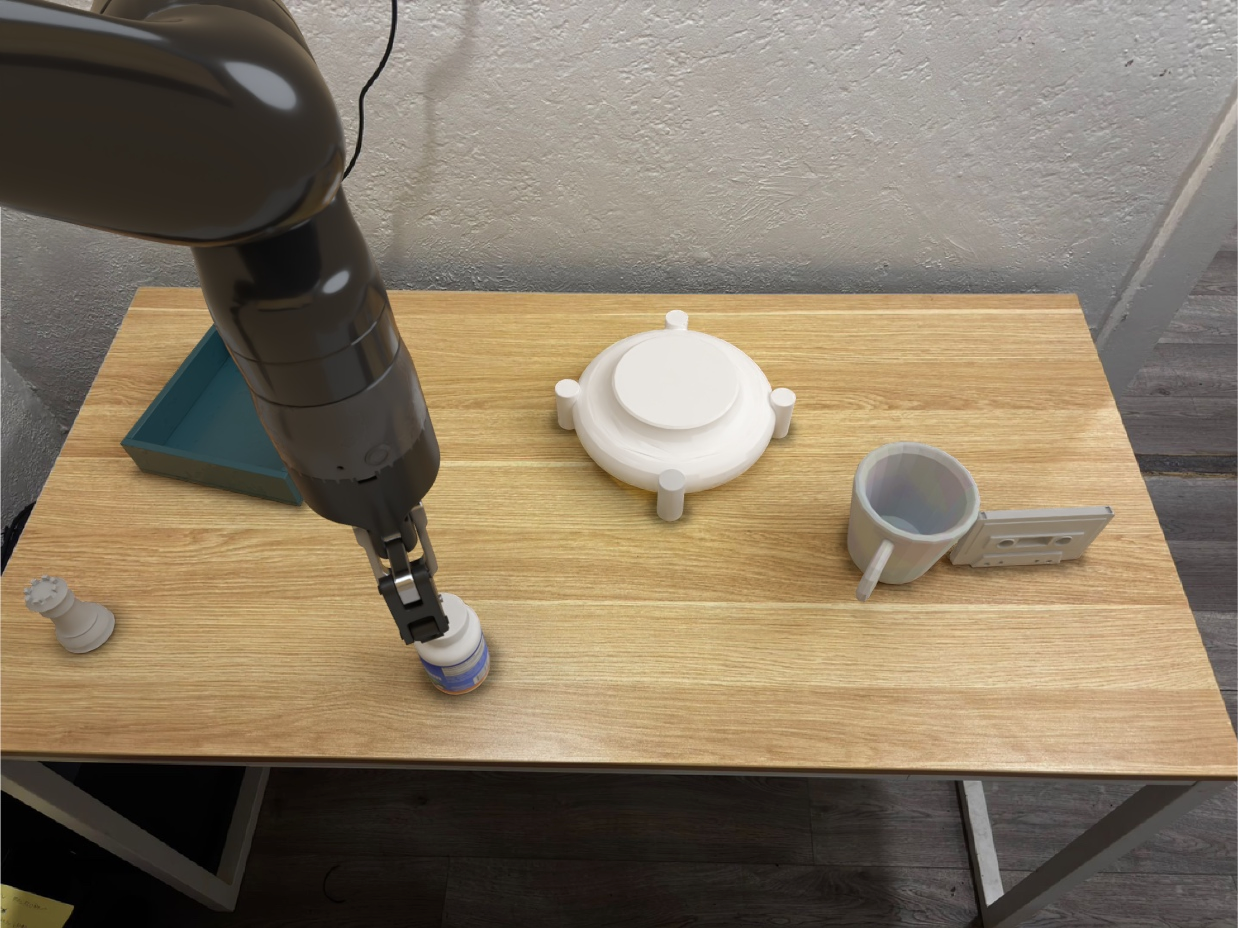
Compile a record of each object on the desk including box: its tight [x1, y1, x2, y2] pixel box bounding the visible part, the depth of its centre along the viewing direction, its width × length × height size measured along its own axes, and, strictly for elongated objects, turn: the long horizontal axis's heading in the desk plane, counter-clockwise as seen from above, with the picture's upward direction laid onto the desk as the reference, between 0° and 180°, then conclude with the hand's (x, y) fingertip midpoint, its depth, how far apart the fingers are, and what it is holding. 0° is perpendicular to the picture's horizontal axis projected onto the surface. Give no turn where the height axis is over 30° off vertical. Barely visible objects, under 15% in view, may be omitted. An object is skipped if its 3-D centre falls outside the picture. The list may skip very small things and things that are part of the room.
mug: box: [846, 440, 981, 603], centre depth 73 cm, size 10×15×10 cm
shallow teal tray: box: [119, 322, 304, 507], centre depth 86 cm, size 18×18×5 cm
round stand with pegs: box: [554, 309, 797, 522], centre depth 84 cm, size 24×24×7 cm
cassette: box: [949, 505, 1116, 568], centre depth 74 cm, size 12×2×8 cm, turn 93°
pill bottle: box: [413, 592, 491, 696], centre depth 68 cm, size 5×5×10 cm
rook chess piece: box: [22, 574, 116, 654], centre depth 71 cm, size 4×4×8 cm
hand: (415, 576), depth 54 cm, fingers open, 8 cm apart
